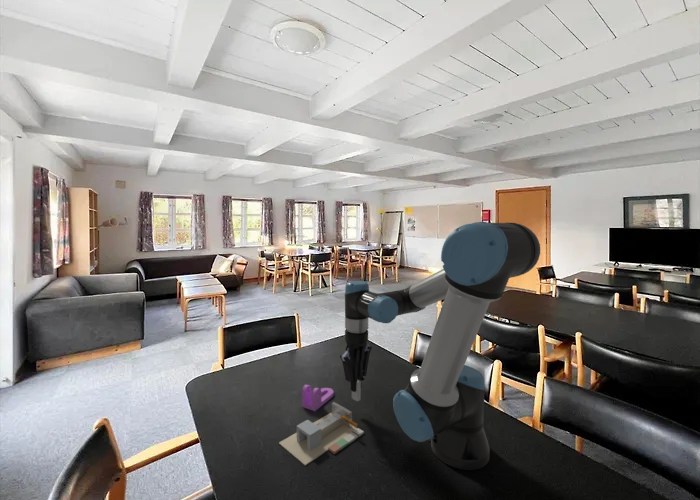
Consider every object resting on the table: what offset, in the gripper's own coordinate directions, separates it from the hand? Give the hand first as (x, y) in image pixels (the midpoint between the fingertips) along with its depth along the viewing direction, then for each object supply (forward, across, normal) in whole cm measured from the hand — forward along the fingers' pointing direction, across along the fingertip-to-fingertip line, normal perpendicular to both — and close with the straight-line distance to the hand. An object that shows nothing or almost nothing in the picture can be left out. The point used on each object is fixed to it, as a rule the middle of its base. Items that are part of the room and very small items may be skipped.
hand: (356, 399), depth 105 cm
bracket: (+5, +3, -14) cm, 16 cm away
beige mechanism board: (+5, +16, +2) cm, 17 cm away
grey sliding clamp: (+4, +13, +2) cm, 14 cm away
